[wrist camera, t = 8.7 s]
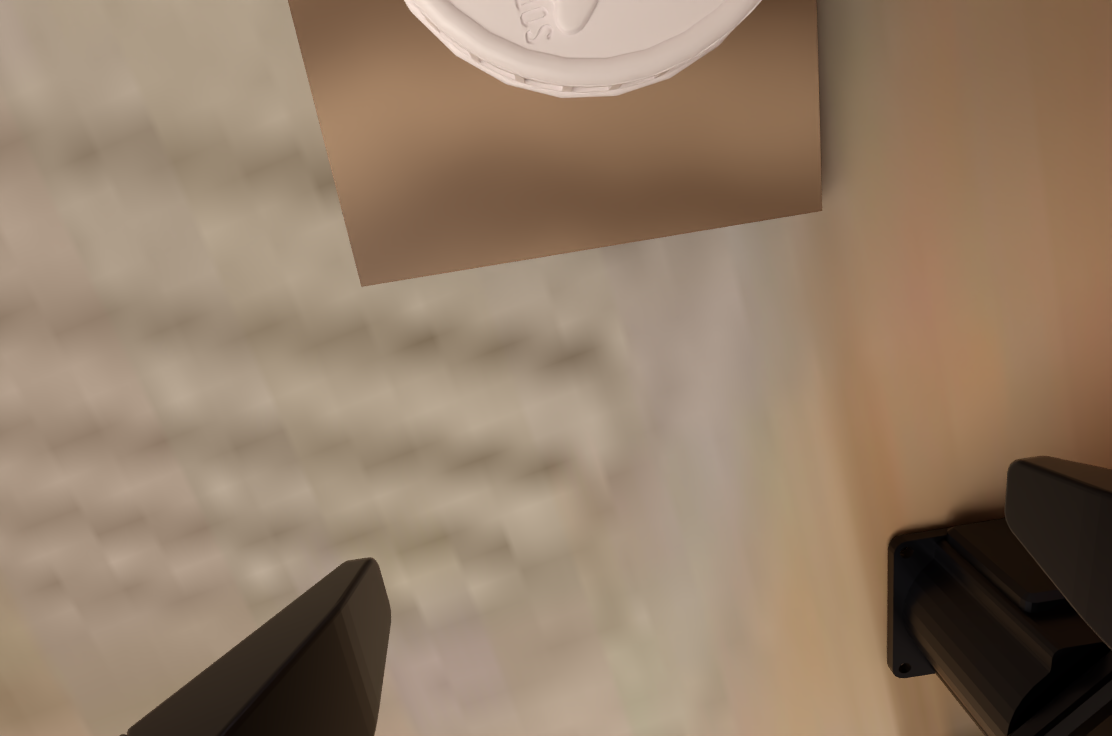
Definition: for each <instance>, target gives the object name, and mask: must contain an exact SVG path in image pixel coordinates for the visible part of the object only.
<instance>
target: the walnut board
mask: <svg viewBox="0 0 1112 736" xmlns="http://www.w3.org/2000/svg"><path fill="white" fill-rule="evenodd" d="M288 3H289V7H290V10H291V14H292V18H293V22H294V26H295V30H296V34H297V38H298V42H299V45H300V49H301V53H302V57H303V61H304V65H305V69H306V73H307V76H308V80H309V84H310V88H311V92H312V96H313V100H314V104H315V108H316V111H317V115H318V119H319V123H320V127H321V131H322V135H323V139H324V143H325V146H326V150H327V154H328V158H329V162H330V166H331V170H332V174H333V178H334V181H335V185H336V189H337V193H338V197H339V201H340V205H341V209H342V213H343V216H344V220H345V224H346V228H347V232H348V236H349V240H350V244H351V248H352V251H353V255H354V259H355V263H356V267H357V271H358V275H359V279H360V283H361V286H362V287H363V286H369V285H375V284H381V283H387V282H393V281H399V280H405V279H411V278H417V277H423V276H429V275H436V274H442V273H448V272H454V271H460V270H466V269H472V268H478V267H484V266H490V265H496V264H502V263H508V262H514V261H520V260H526V259H533V258H539V257H545V256H551V255H557V254H563V253H569V252H575V251H581V250H587V249H593V248H599V247H605V246H611V245H617V244H624V243H630V242H636V241H642V240H648V239H654V238H660V237H666V236H672V235H678V234H684V233H690V232H696V231H702V230H708V229H715V228H721V227H727V226H733V225H739V224H745V223H751V222H757V221H763V220H769V219H775V218H781V217H787V216H793V215H799V214H806V213H812V212H818V211H822V188H821V150H820V112H819V75H818V37H817V0H762V1H761V2H760V3H759V4H758V5H757V6H756V8H755V9H754V10H753V11H752V12H751V13H750V14H749V15H748V16H747V17H746V18H745V19H744V20H743V21H742V22H741V23H740V24H739V25H737V26H736V27H735V29H734V30H733V31H732V32H731V33H730V34H729V35H728V36H727V37H726V39H725V40H724V41H723V42H722V43H721V44H720V45H719V46H718V47H716V48H715V49H713V50H712V51H710V52H709V53H707V54H706V55H704V56H703V57H701V58H700V59H698V60H697V61H695V62H694V63H692V64H691V65H689V66H688V67H686V68H685V69H683V70H682V71H680V72H679V73H677V74H676V75H674V76H673V77H671V78H669V79H666V80H663V81H660V82H657V83H654V84H651V85H648V86H645V87H642V88H639V89H636V90H633V91H630V92H627V93H624V94H621V95H618V96H603V97H578V98H559V97H555V96H551V95H547V94H543V93H539V92H535V91H531V90H527V89H523V88H519V87H515V86H511V85H507V84H505V83H503V82H501V81H500V80H498V79H496V78H494V77H493V76H491V75H489V74H487V73H486V72H484V71H482V70H480V69H479V68H477V67H475V66H473V65H472V64H470V63H468V62H466V61H464V60H463V59H461V58H459V57H457V56H456V55H455V54H454V53H453V52H452V51H451V50H450V49H449V48H448V47H446V46H445V45H444V44H443V43H442V42H441V41H440V40H439V39H438V38H437V37H436V36H435V35H434V34H433V33H432V32H431V31H430V30H429V29H428V28H427V27H426V26H425V25H424V24H423V23H422V22H421V21H420V20H419V19H418V18H417V17H416V16H415V15H414V14H413V13H412V12H411V11H410V9H409V8H408V6H407V5H406V3H405V1H404V0H288Z"/></svg>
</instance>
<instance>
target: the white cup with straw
mask: <svg viewBox="0 0 1112 736" xmlns="http://www.w3.org/2000/svg"><path fill="white" fill-rule="evenodd" d="M404 1H405V3H406V5H407V6H408V8H409V9H410V11H411V12H412V13H413V14H414V15H415V16H416V17H417V18H418V19H419V20H420V21H421V22H422V23H423V24H424V25H425V26H426V27H427V28H428V29H429V30H430V31H431V32H432V33H433V34H434V35H435V36H436V37H437V38H438V39H439V40H440V41H441V42H442V43H443V44H444V45H445V46H446V47H448V48H449V49H450V50H451V51H452V52H453V53H454V54H455V55H456V56H457V57H459V58H461V59H463V60H464V61H466V62H468V63H470V64H472V65H473V66H475V67H477V68H479V69H480V70H482V71H484V72H486V73H487V74H489V75H491V76H493V77H494V78H496V79H498V80H500V81H501V82H503V83H505V84H507V85H511V86H515V87H519V88H523V89H527V90H531V91H535V92H539V93H543V94H547V95H551V96H555V97H559V98H578V97H603V96H618V95H621V94H624V93H627V92H630V91H633V90H636V89H639V88H642V87H645V86H648V85H651V84H654V83H657V82H660V81H663V80H666V79H669V78H671V77H673V76H674V75H676V74H677V73H679V72H680V71H682V70H683V69H685V68H686V67H688V66H689V65H691V64H692V63H694V62H695V61H697V60H698V59H700V58H701V57H703V56H704V55H706V54H707V53H709V52H710V51H712V50H713V49H715V48H716V47H718V46H719V45H720V44H721V43H722V42H723V41H724V40H725V39H726V37H727V36H728V35H729V34H730V33H731V32H732V31H733V30H734V29H735V27H736V26H737V25H739V24H740V23H741V22H742V21H743V20H744V19H745V18H746V17H747V16H748V15H749V14H750V13H751V12H752V11H753V10H754V9H755V8H756V6H757V5H758V4H759V3H760V2H761V1H762V0H404Z"/></svg>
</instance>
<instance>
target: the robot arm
mask: <svg viewBox="0 0 1112 736" xmlns="http://www.w3.org/2000/svg"><path fill="white" fill-rule="evenodd" d="M905 547H907V549H906V550H905V551H903V552H901V550H902V549H903V548H905ZM390 626H391V609H390V604H389V600H388V596H387V593H386V589H385V586H384V582H383V578H382V575H381V571H380V568H379V565H378V563H377V561H376V560H375V559H374V558H362V559H355V560H348V561H346V562H344V563H342V564H341V565H340V566H338V567H337V568H336V569H335V570H333V571H332V572H331V573H329V574H328V575H327V576H326V577H324V578H323V579H322V580H320V581H319V582H318V583H316V584H315V585H314V586H313V587H311V588H310V589H309V590H307V591H306V592H305V593H304V594H302V595H301V596H300V597H298V598H297V599H296V600H294V601H293V602H292V603H291V604H289V605H288V606H287V607H285V608H284V609H283V610H282V611H280V612H279V613H278V614H276V615H275V616H274V617H272V618H271V619H270V620H269V621H267V622H266V623H265V624H263V625H262V626H261V627H260V628H258V629H257V630H256V631H254V632H253V633H252V634H251V635H249V636H248V637H247V638H245V639H244V640H243V641H241V642H240V643H239V644H238V645H236V646H235V647H234V648H232V649H231V650H230V651H229V652H227V653H226V654H225V655H223V656H222V657H221V658H219V659H218V660H217V661H216V662H214V663H213V664H212V665H210V666H209V667H208V668H207V669H205V670H204V671H203V672H201V673H200V674H199V675H197V676H196V677H195V678H194V679H192V680H191V681H190V682H188V683H187V684H186V685H185V686H183V687H182V688H181V689H179V690H178V691H177V692H176V693H174V694H173V695H172V696H170V697H169V698H168V699H166V700H165V701H164V702H163V703H161V704H160V705H159V706H157V707H156V708H155V709H154V710H152V711H151V712H150V713H148V714H147V715H146V716H144V717H143V718H142V719H141V720H139V721H138V722H137V723H135V724H134V725H133V726H132V727H130V728H129V729H128V731H127V735H126V734H121V735H120V736H374V734H375V730H376V725H377V719H378V713H379V707H380V699H381V692H382V684H383V677H384V670H385V662H386V655H387V648H388V640H389V633H390ZM887 664H888V667H889V668H890V670H891V671H892V672H893V674H894V675H895V676H896V677H899V678H909V677H915V676H922V675H928V674H935V673H936V675H937V676H938V677H939V678H940V680H941V681H942V682H943V683H944V685H945V686H946V687H947V688H948V690H949V691H950V692H951V693H952V695H953V696H954V697H955V698H956V700H957V701H958V702H959V704H960V705H961V706H962V707H963V709H964V710H965V711H966V712H967V714H968V715H969V716H970V717H971V719H972V720H973V721H974V722H975V724H976V725H977V726H978V727H979V729H980V730H981V731H982V733H983V734H984V735H985V736H1112V470H1111V469H1107V468H1102V467H1097V466H1092V465H1087V464H1083V463H1078V462H1073V461H1068V460H1063V459H1059V458H1054V457H1049V456H1036V457H1030V458H1023V459H1018V460H1015V461H1013V462H1012V463H1011V464H1010V466H1009V468H1008V472H1007V484H1006V498H1005V519H998V520H992V521H986V522H979V523H973V524H967V525H960V526H954V527H950V528H944V529H937V530H931V531H925V532H918V533H912V534H906V535H900V536H897V537H895V538H894V539H893V540H892V541H891V542H890V543H889V546H888V632H887ZM902 664H903V665H902Z"/></svg>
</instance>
